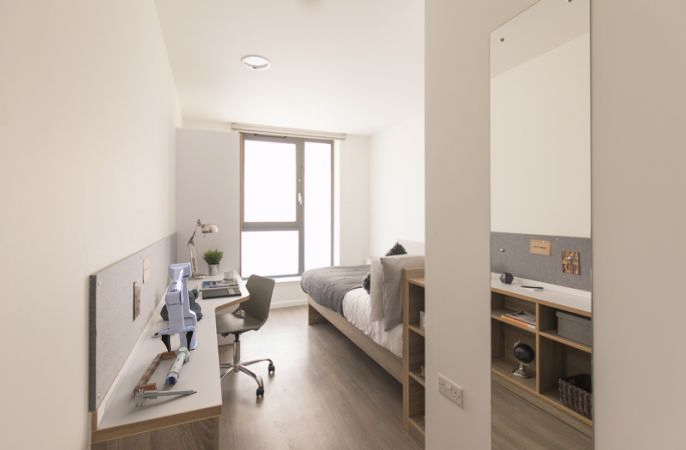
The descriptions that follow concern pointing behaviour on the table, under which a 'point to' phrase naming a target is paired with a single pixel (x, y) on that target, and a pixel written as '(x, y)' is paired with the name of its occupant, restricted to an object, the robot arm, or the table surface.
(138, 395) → the caliper
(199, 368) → the table surface
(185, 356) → the white tube
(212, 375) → the table surface
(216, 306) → the table surface
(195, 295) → the koala plush
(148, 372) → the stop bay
